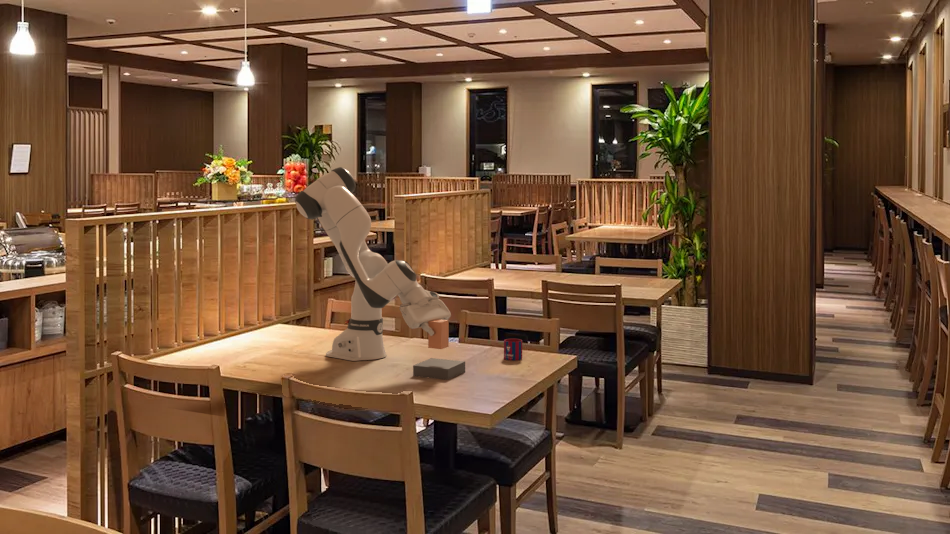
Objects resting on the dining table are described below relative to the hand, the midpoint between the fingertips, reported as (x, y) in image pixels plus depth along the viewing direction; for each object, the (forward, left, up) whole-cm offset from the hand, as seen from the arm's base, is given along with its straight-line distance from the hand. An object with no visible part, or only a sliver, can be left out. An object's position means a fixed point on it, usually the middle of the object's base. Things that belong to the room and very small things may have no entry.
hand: (439, 333), depth 290 cm
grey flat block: (0, +1, -14) cm, 15 cm away
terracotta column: (-1, 0, -5) cm, 5 cm away
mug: (+13, +36, -14) cm, 40 cm away
